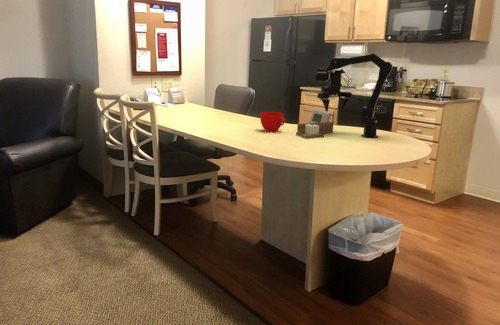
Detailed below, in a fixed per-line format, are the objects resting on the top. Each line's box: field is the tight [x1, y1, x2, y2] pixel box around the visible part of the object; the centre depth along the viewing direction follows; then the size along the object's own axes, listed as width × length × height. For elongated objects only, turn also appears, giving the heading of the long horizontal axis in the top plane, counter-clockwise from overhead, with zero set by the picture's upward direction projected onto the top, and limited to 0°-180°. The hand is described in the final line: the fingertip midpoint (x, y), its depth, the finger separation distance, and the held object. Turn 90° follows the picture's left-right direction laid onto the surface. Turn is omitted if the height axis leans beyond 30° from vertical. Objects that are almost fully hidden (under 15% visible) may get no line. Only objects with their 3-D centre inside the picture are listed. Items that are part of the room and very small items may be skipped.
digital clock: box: [308, 109, 332, 123], centre depth 230 cm, size 16×9×11 cm, turn 15°
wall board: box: [295, 121, 334, 140], centre depth 211 cm, size 10×23×6 cm, turn 113°
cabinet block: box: [305, 123, 319, 135], centre depth 209 cm, size 6×5×7 cm
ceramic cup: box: [259, 111, 286, 133], centre depth 222 cm, size 13×17×10 cm
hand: (333, 111), depth 213 cm, fingers open, 9 cm apart
